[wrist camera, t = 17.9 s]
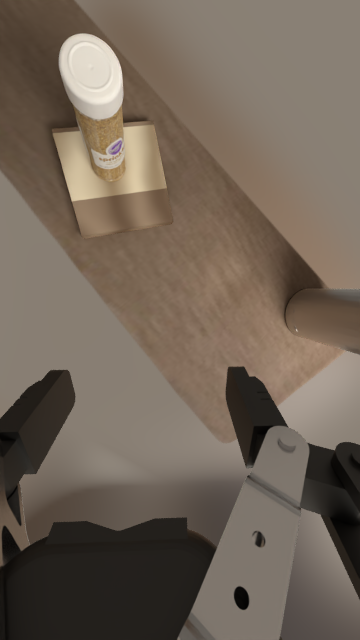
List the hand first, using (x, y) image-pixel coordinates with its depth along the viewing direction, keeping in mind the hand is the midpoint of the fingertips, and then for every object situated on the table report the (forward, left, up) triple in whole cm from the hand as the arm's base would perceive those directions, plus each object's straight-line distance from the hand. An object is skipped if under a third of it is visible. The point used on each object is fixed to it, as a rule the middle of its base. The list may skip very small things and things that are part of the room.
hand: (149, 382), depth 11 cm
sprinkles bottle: (-1, -21, -23) cm, 31 cm away
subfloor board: (-2, -19, -24) cm, 31 cm away
